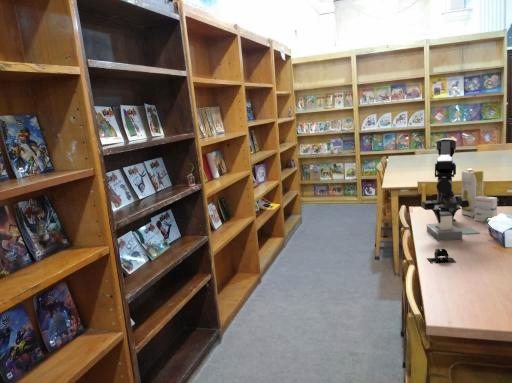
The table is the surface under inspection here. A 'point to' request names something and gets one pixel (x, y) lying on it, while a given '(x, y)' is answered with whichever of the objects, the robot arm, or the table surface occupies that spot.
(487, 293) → the table surface
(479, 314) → the table surface
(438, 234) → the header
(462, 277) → the table surface
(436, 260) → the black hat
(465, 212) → the juice carton
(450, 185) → the robot arm
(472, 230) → the mat
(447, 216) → the plug
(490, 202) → the ink box
